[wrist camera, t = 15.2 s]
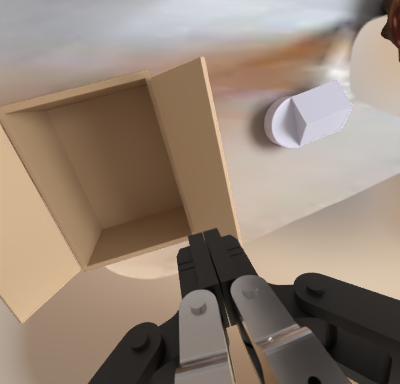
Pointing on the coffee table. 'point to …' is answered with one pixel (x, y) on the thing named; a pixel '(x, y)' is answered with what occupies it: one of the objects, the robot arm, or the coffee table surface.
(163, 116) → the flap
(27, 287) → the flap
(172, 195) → the carton
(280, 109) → the wedge on round base
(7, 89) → the coffee table surface
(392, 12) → the decorative turtle
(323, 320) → the robot arm
